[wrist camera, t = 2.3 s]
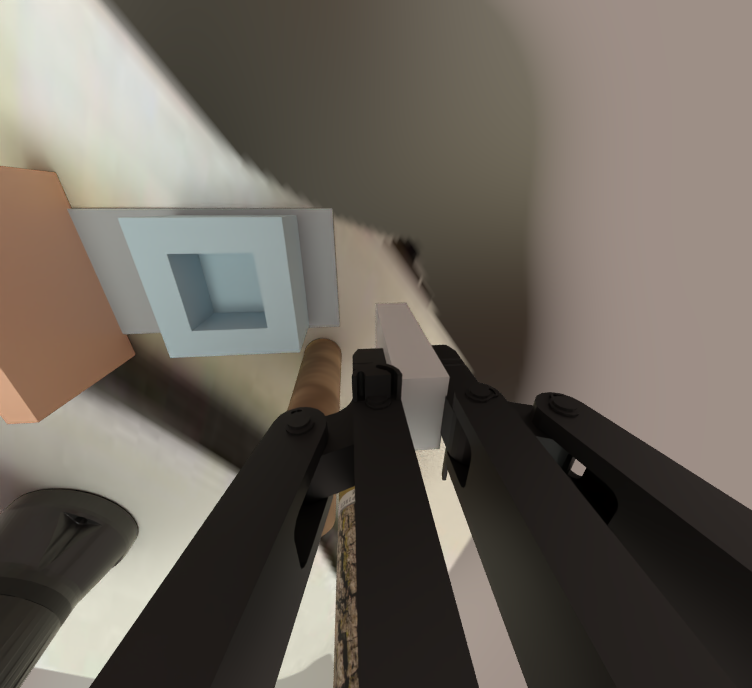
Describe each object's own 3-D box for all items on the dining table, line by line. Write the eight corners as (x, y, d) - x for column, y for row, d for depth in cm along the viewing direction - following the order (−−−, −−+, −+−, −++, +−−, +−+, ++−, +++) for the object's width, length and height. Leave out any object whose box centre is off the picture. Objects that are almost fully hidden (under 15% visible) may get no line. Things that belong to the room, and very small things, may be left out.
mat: (104, 333, 27) (100, 335, 27) (44, 208, 22) (39, 208, 22) (339, 324, 29) (339, 326, 29) (332, 208, 24) (332, 208, 24)
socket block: (205, 328, 27) (170, 357, 22) (172, 215, 23) (117, 217, 17) (309, 324, 28) (300, 352, 22) (296, 214, 23) (281, 217, 18)
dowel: (306, 371, 31) (263, 545, 15) (302, 339, 29) (248, 498, 13) (342, 369, 31) (337, 538, 15) (340, 337, 30) (332, 491, 14)
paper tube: (329, 475, 39) (305, 836, 17) (367, 452, 38) (397, 809, 15) (359, 498, 42) (373, 833, 19) (396, 476, 40) (456, 810, 18)
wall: (114, 355, 28) (7, 424, 19) (26, 172, 21) (-207, 146, 12) (135, 354, 28) (38, 422, 19) (55, 172, 21) (-155, 147, 12)
